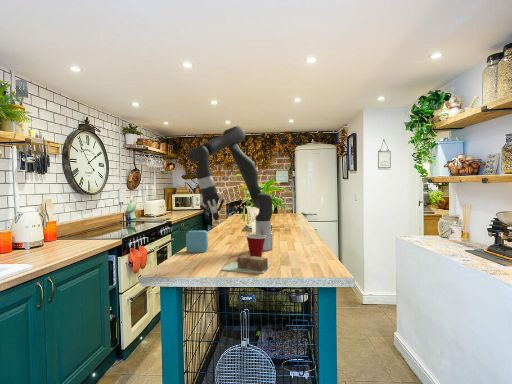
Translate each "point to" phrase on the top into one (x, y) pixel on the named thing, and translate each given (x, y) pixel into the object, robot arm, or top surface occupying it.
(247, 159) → the robot arm
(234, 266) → the mat
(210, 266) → the top surface
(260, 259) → the walnut block
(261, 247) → the plastic cup
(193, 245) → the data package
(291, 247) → the top surface
